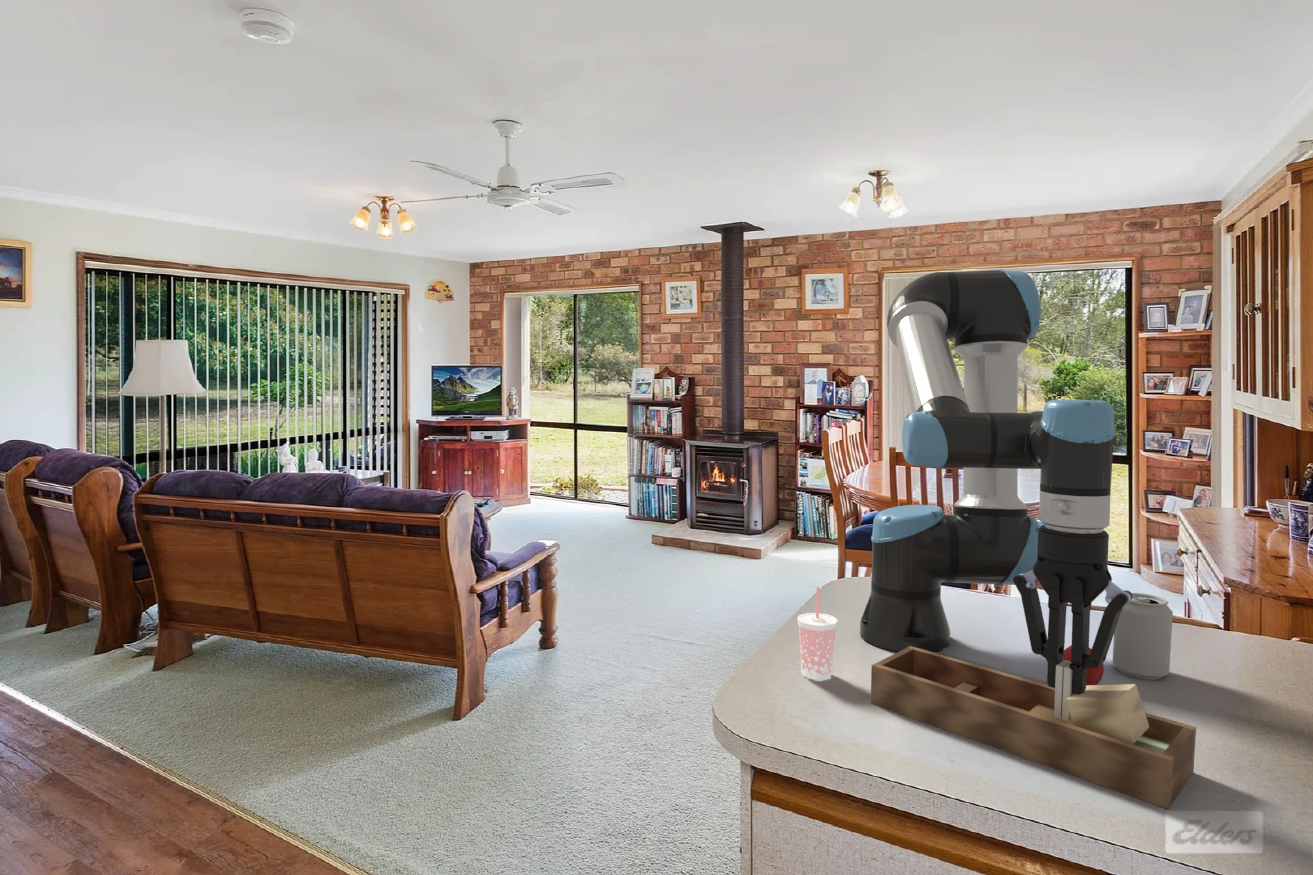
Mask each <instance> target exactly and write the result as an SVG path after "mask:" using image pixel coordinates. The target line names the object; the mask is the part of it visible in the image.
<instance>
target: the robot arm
mask: <svg viewBox="0 0 1313 875" xmlns="http://www.w3.org/2000/svg"><path fill="white" fill-rule="evenodd" d="M1041 309H1042V308H1041V300H1040V294H1039V290H1038V287H1037V285H1036V283H1035V280H1034V279H1033V278H1032V277H1031V275H1029V274H1028V273H1027V272H1024V271H1021V270H1005V269H997V270H973V271H972V270H970V271H935V272H932V273H928V274H924V275H922V276H920V277H917V278H916V279H913V281H911V282H909V283H908V284H907V285H905V287H904V288H902V289H901V291H899V292H898V293H897V295H896V296H895V298H894V299H893V301H892V303H891V304H890V307H889V310H888V313H887V317H886V318H887V319H886V327H887V331H888V332H887V333H888V336H889V338H890V339H889V340H890V341H891V343H892V344H893V345H894V346H895V347H896V348H897V349H898V352H899V354H898V355H899V358H900V362H901V367H902V372H903V376H904V379H905V383H906V388H907V393H908V397H909V403H910V407H911V409H912V411H911V412H909V413H907V414H906V415H905V416H904V419H903V424H902V433H901V443H902V444H901V445H902V455H903V457H904V458H903V459H904V460H905V462H906V463H907V464H908V465H910V466H913V467H916V466H917V467H930V468H932V469H944V468H947V469H948V468H949V469H956V468H957V469H958V468H960V469H961V468H963V470H962V471H963V477H962V478H963V482H962V483H963V484H962V485H963V486H962V487H963V490H962V491H963V492H962V496H961V497H960V498H959V499H957V501H956V502H955V503H953V514H945V512H944V510H943V508H942V507H941V506H940V505H939V506H938V505H934V504H907V505H906V504H905V505H899V506H894V507H889V508H886V509H883V510H880V511H879V512H878V513H877V514H876V515H875V516H874V518H873V522H872V523H873V524H872V534H871V537H870V538H871V543H872V547H871V550H872V551H871V552H872V554H871V578H870V579H871V582H870V583H871V585H870V586H871V587H870V595H869V596H868V599H867V603H866V605H865V609H864V611H863V613H862V616H861V619H860V622H859V623H860V624H859V635H860V634H861V635H860V637H861V636H862V637H861V639H863V638H864V639H865V640H866V641H865V640H864V639H863V640H864V641H865V642H867V643H869V642H870V643H869V644H871V643H872V644H871V645H873V644H874V645H873V646H876V647H878V646H879V647H878V648H881V649H885V650H889V651H893V652H894V651H895V652H899V651H901V650H903V649H905V648H907V647H909V646H912V647H916V648H920V649H923V650H927V651H930V652H934V653H936V652H938V651H942V650H945V649H946V648H948V647H949V646H950V645H951V628H950V627H949V622H948V619H947V616H946V613H945V609H944V606H943V603H942V598H941V592H942V591H941V590H942V583H953V584H954V583H955V584H979V585H981V584H983V585H996V586H997V587H1000V586H1001V587H1002V586H1004V585H1007V586H1008V585H1009V586H1010V585H1013V586H1015V587H1016V589H1017V591H1018V593H1019V594H1020V597H1021V603H1022V608H1023V611H1024V616H1025V623H1026V628H1027V633H1028V638H1029V642H1030V649H1031V651H1032V653H1033V654H1034V655H1038V656H1039V655H1040V656H1041V657H1043V658H1044V659H1045V660H1046V662H1047V675H1046V676H1047V677H1046V683H1047V685H1048V686H1049V687H1052V688H1055V703H1054V717H1056V718H1060V719H1061V718H1062V719H1063V720H1066V721H1069V720H1070V719H1071V716H1070V712H1069V709H1068V706H1067V702H1066V699H1067V698H1068V697H1069V696H1071V695H1072V694H1073V693H1075V694H1082V693H1083V692H1084V691H1085V689H1086V676H1087V668H1097V667H1099V666H1100V665H1101V664H1103V663H1105V661H1106V659H1107V656H1108V653H1109V650H1110V646H1111V644H1112V641H1113V639H1114V632H1115V629H1116V626H1117V623H1118V620H1119V617H1120V614H1121V611H1122V609H1123V608H1124V607H1125V606H1126V605H1127V604H1128V602H1129V601H1130V600H1131V599H1132V598H1133V595H1132V593H1133V592H1132V591H1129V590H1123V589H1122V588H1120V587H1119V586H1118V585H1117V584H1115V583H1114V582H1113V581H1112V580H1113V577H1112V575H1111V572H1109V566H1108V565H1109V564H1108V563H1109V562H1108V561H1109V559H1108V558H1109V544H1110V543H1109V540H1110V534H1109V533H1108V532H1107V531H1106V530H1105V529H1106V528H1108V527H1109V526H1110V524H1111V523H1110V519H1111V518H1110V517H1111V492H1112V491H1111V490H1112V489H1111V488H1112V476H1113V475H1112V474H1113V473H1112V471H1113V455H1114V441H1115V440H1114V438H1115V436H1116V428H1115V416H1114V415H1115V414H1114V413H1115V412H1114V407H1113V405H1112V404H1111V403H1110V402H1108V401H1107V400H1099V399H1098V400H1095V399H1093V400H1092V399H1052V400H1048V401H1047V402H1045V404H1044V405H1043V411H1038V410H1037V411H1032V412H1018V405H1019V404H1018V400H1019V399H1018V398H1019V397H1018V396H1019V395H1018V394H1019V392H1018V390H1019V389H1018V382H1019V381H1018V378H1019V377H1018V366H1019V365H1018V364H1019V362H1018V358H1019V356H1020V355H1022V353H1023V352H1024V351H1025V350H1027V348H1028V340H1030V339H1032V338H1034V337H1036V335H1037V334H1038V332H1039V329H1040V325H1041V324H1040V321H1041V318H1042V317H1041V316H1042V315H1041V314H1042V310H1041ZM948 339H949V340H954V351H955V352H956V353H957V354H958V355H959V356H960V357H962V360H963V385H962V382H961V380H960V379H961V378H960V376H959V372H958V370H957V366H956V364H955V360H954V356H953V355H952V351H951V348H950V345H949V341H948ZM1019 469H1022V470H1026V469H1027V470H1040V482H1039V501H1038V502H1039V506H1038V507H1039V508H1038V521H1040V522H1041V523H1042V524H1043V525H1041V526H1040V524H1039V522H1038V521H1037V519H1036V518H1035V517H1032V516H1030V515H1028V505H1026V504H1025V503H1024V502H1023V501H1022V500H1021V499H1020V498H1019V495H1018V484H1019V483H1018V480H1019V479H1018V478H1019V477H1018V473H1019V472H1018V470H1019ZM1038 582H1039V583H1038ZM1039 584H1040V586H1041V588H1043V590H1044V592H1045V594H1046V595H1047V596H1048V599H1047V607H1048V624H1047V626H1048V627H1047V628H1048V629H1047V630H1046V625H1045V620H1044V616H1043V614H1044V613H1043V611H1042V607H1041V600H1040V596H1039V591H1038V589H1037V587H1038V586H1039ZM1104 591H1105V592H1106V594H1105V597H1104V599H1105V600H1104V601H1105V602H1106V603H1107V606H1106V607H1105V609H1104V611H1103V614H1102V617H1101V620H1100V622H1099V626H1098V629H1097V632H1096V635H1095V639H1094V642H1093V643H1092V647H1091V649H1092V650H1091V653H1090V655H1089V648H1090V626H1091V624H1090V622H1091V620H1090V619H1091V617H1090V616H1091V610H1092V605H1093V604H1092V602H1094V601H1095V600H1096V599H1097V598H1098V597H1099V596H1100V595H1101V594H1102V593H1104ZM1068 604H1069V605H1070V604H1071V610H1070V611H1071V614H1072V617H1071V618H1072V621H1071V623H1072V624H1071V645H1072V648H1071V663H1070V661H1067V660H1063V661H1062V658H1063V657H1064V656H1065V655H1066V653H1065V654H1064V650H1065V642H1066V640H1065V638H1066V623H1067V608H1068ZM1046 631H1047V632H1046Z"/></svg>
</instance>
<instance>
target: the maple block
mask: <svg viewBox="0 0 1313 875" xmlns="http://www.w3.org/2000/svg"><path fill="white" fill-rule="evenodd" d="M1140 696H1141V695H1140V693H1139V689H1138V687H1137V684H1135V683H1129V684H1128V683H1126V684H1124V683H1123V684H1122V683H1121V684H1097V685H1086V689H1085V691H1084V692H1083V693H1082V694H1075V693H1073V694H1072V695H1071V696H1069V697H1068V698H1067V699H1066V702H1067V706H1068V709H1069V712H1070V716H1071V719H1072V722H1073V726H1076V727H1080V728H1083V729H1086V730H1089V731H1092V732H1095V733H1099V734H1102V735H1105V736H1108V737H1111V738H1115V739H1118V740H1121V741H1124V742H1127V743H1132V744H1134V743H1135V742H1136V741H1137V740H1138V739H1139V738H1140V736H1141V735H1142V734H1143V733H1144V732H1145V731H1146V730H1147V729H1148V728H1149V724H1148V721H1147V718H1146V714H1145V713H1146V712H1145V709H1144V705H1143V702H1142V699H1141V697H1140Z"/></svg>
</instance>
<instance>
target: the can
mask: <svg viewBox="0 0 1313 875" xmlns="http://www.w3.org/2000/svg"><path fill="white" fill-rule="evenodd" d="M1131 593H1132V595H1133V598H1132V599H1131V600H1130V601H1129V602H1128V604H1127V605H1126V606H1125V607H1124V608H1123V609H1122V611H1121V614H1120V617H1119V620H1118V623H1117V626H1116V629H1115V632H1114V635H1113V644H1112V646H1113V648H1112V664H1113V665H1114V666H1115V667H1116V669H1118V671H1119V672H1121V673H1123V674H1124V675H1126V676H1129V677H1131V678H1132V677H1133V678H1136V679H1141V680H1151V681H1152V680H1153V681H1154V680H1160V679H1162V678H1163V677H1165V676H1167V675H1168V674H1170V666H1171V664H1170V663H1171V648H1172V633H1173V632H1172V630H1173V614H1174V612H1173V611H1172V609H1171V608H1170V607H1169V601H1168V600H1167V599H1165V598H1163V597H1160V596H1157V595H1153V594H1148V593H1142V592H1141V593H1140V592H1131Z"/></svg>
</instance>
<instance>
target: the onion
mask: <svg viewBox="0 0 1313 875" xmlns="http://www.w3.org/2000/svg"><path fill="white" fill-rule="evenodd" d="M1071 648H1072V644H1071V645H1070V646H1068V647H1066V648H1064V654H1065V653H1066V655H1065V656H1064V657H1063V658H1062V661H1063V660H1067V661H1070V663H1071ZM1091 650H1092V647H1089V655H1090V653H1091ZM1103 676H1104V664H1103V663H1102V664H1101V665H1100V666H1099V667H1097V668H1087V676H1086V685H1099V683H1100V682H1101V680H1102V678H1103Z"/></svg>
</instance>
